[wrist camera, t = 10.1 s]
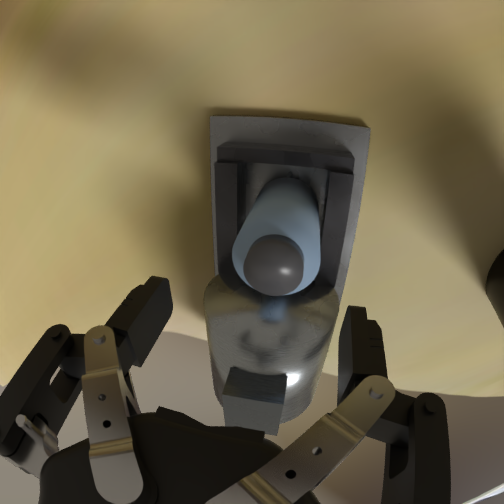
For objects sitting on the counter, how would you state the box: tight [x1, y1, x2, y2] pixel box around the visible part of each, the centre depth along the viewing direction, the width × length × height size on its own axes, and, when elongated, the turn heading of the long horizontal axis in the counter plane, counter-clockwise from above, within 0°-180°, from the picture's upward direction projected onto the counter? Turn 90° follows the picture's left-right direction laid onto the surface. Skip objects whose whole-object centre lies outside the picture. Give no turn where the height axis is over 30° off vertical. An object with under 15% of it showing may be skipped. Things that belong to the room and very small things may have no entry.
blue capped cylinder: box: [232, 177, 321, 296], centre depth 20 cm, size 5×5×9 cm
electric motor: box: [204, 115, 371, 436], centre depth 22 cm, size 24×12×13 cm, turn 179°
